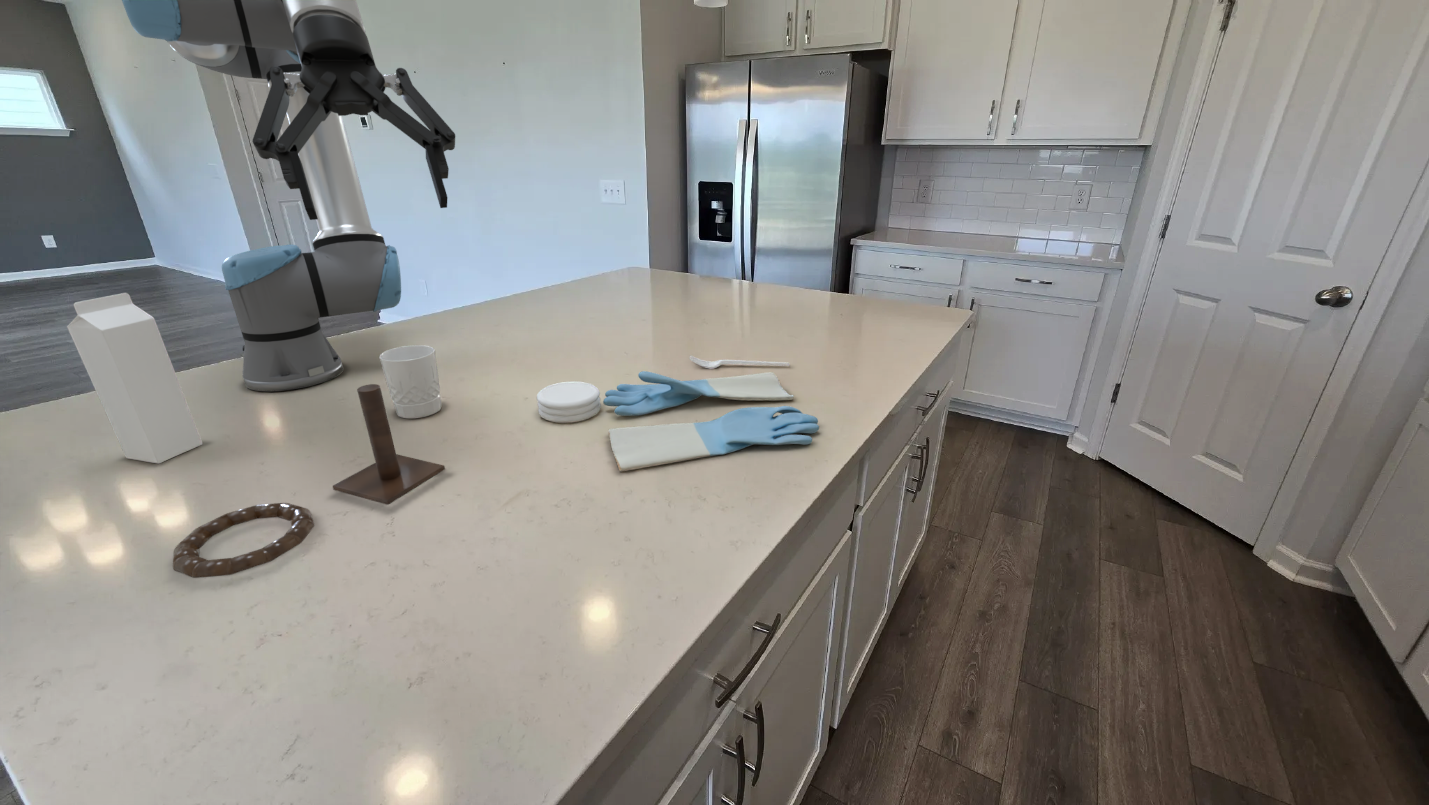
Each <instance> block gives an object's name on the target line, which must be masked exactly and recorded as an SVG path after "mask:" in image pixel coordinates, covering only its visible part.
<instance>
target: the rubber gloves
mask: <svg viewBox="0 0 1429 805" xmlns="http://www.w3.org/2000/svg"><path fill="white" fill-rule="evenodd" d="M638 378H639V379H640V380H641V381H642V382H644V383H649V384H630V383H629V384H628V383H619V384H617V386H616V389H609V390H607V391H605V393H604V394H605V398H604V399H603V401H602V402H603V404H604V405H605V406H606V407H615V409H614V414H615V415H617V416H622V417H633V416H643V415H648V414H651V413H655V412H657V411H661V410H664V409H665V410H666V409H669V408H674V407H679V406H681V405H685V404H687V403H688V402H692V401H694V400H696V399H699V398H700V397H701V396H704V397H711V398H720V399H725V400H736V401H793V400H794V396H795V395H794V394H790V393H788V392H787V391H786V389H784V388H783V386H782V385H781V383H780V379H779V378H778V376H777V375H776V374H775V373H774V372H773V371H772V372H769V371H768V372H760V373H751V374H750V373H749V374H743V375H734V376H726V377H724V376H721V377H713V378H712V377H711V378H704V379H703V378H702V379H692V380H680V379H676V378H673V377H670V376H667V375H664V374H663V375H662V374H660V373H656V372H652V371H646V370H642V371H639V372H638ZM777 413H779V414H778V415H775V414H777ZM774 415H775V416H774ZM818 423H819V418H818V417H816V416H814V415H811V414H807V413H803V412H802V411H801V410H800V409H798V408H796V407H793V406H790V405H781V406H776V407H775V406H751V407H749V406H747V407H740V408H737V409H734V410H731V411H729V412H727V413H725V414H723V415H722V416H719V417H718V418H715V419H713V420H708V421H702V422H700V421H699V422H679V423H677V422H676V423H665V424H653V425H652V424H651V425H642V426H640V425H639V426H628V427H627V426H626V427H617V428H616V427H615V428H614V427H613V428H608V437H609V442H610V447H611V450H612V453H613V457H614V460H615V463H616V464H617V466H618V467H617V468H618V471H619V472H625V471H633V470H638V469H644V468H649V467H650V468H651V467H656V466H661V465H667V464H673V463H679V462H685V461H689V460H690V461H691V460H696V459H700V458H708V457H715V456H723V455H725V454H726V455H727V454H730V453H733V452H737V451H740V450H742V449H745V448H747V447H751V446H753V445H768V446H779V445H780V446H782V445H793V444H794V445H804V446H805V445H810V444H811V443H812V442H813V437H812V436H810V435H806V434H815V433H817V432H818V431H819V430H820V426H819V424H818ZM802 434H803V435H802ZM804 434H805V435H804Z"/></svg>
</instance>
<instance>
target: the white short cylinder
mask: <svg viewBox="0 0 1429 805" xmlns="http://www.w3.org/2000/svg"><path fill="white" fill-rule="evenodd" d="M600 394H601V392H600V389H599V388H598V387H597V386H596V385H594V384H593V383H590V382H586V381H578V380H577V381H576V380H575V381H574V380H573V381H572V380H571V381H570V380H569V381H561V382H555V383H552V384H549V385H547V386H545V387H542V388H541V389H540V390H539V391H538V393H537V394H536V401H537V407H538V408H537V409H538V410H537V411H538V414H539V417H541V418H542V419H544V420H545V421H547V422H552V423H557V424H558V423H559V424H569V423H578V422H582V421H586V420H588V419H591V418H593V417H594V416H595V415H597V414H598V413H599V412H600V411H601V407H602V405H601V397H600Z"/></svg>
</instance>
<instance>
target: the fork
mask: <svg viewBox="0 0 1429 805" xmlns="http://www.w3.org/2000/svg"><path fill="white" fill-rule="evenodd" d="M688 359H689V360H690V361H691V362H692V363H694V364H696V365H698V366H699V367H702V368H704V369H709V370H710V369H711V370H714V369H717V368H719V367H720V366H722V365H740V366H741V365H742V366H743V365H744V366H747V365H748V366H775V367H776V366H777V367H778V366H779V367H790V366H791V365H790V362H785V361H765V360H762V361H761V360H743V359H742V360H741V359H740V360H739V359H718V360H714V361H710V360H704V359H701V358H698V357H695V356H693V355H691V354H689V358H688Z"/></svg>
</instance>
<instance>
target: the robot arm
mask: <svg viewBox="0 0 1429 805" xmlns="http://www.w3.org/2000/svg"><path fill="white" fill-rule="evenodd" d="M121 2H122V5H123V7H124V11H125V12H126V13H125V14H126V16H127V18H128V20H129V23H130V25H131V27H132V29H133V30H134V31H135V32H136V33H137V34H138V35H139V36H141V37H144V38H149V39H157V40H163V41H166V43H167V44H168V45H169V46H170V47H171V49H172V50H174V51H175V52H176V53H177V54H178V55H179V56H181V57H182V58H183V59H185V60H186V61H188V62H190V63H193V64H195V65H197V66H200V67H203V68H205V69H207V70H210V71H214V72H217V73H220V74H224V75H228V76H232V77H238V78H244V79H257V80H266V82H267V85H268V89H269V91H268V95H267V97H266V100H265V103H264V106H263V109H262V112H261V114H260V116H259V120H258V123H257V125H256V129H255V132H254V134H253V138H252V144H253V146H254V148H255V150H256V153H257V154H258V156H259V157H260V158H261V159H263V160H270V159H273V160H275V161H277V162H278V163H279V166H280V170H281V174H282V176H283V179H284V182H285V184H286V186H287V187H288V188H289V190H298V189H299V192H300V195H301V199H302V203H303V206H304V210H305V212H306V214H307V216H308V219H309V220H310V221H316V226H317V229H318V233H317V235H316V236H315V237H314V238H313V240H312V242H311V244H312V247H313V251H310V252H309V251H308V252H302V249H301V248H300V247H299V246H298V245H297V244H282V245H281V244H279V245H273V246H272V245H271V246H265V247H261V248H256V249H255V248H254V249H251V250H247V251H243V252H239V253H236V254H233V255H231V256H229V257H227V258H225V260H223V262H222V263H221V271H222V276H223V279H224V283H225V285H224V288H225V290H226V291H227V292H228V295H229V297H230V301H231V303H232V307H233V310H234V313H235V316H236V319H237V323H238V327H239V329H240V332H241V335H242V338H243V342H244V345H242V351H243V363H242V379H243V382H244V385H245V387H246V388H247V389H249V390H251V391H255V392H283V391H285V392H286V391H292V390H298V389H303V388H308V387H312V386H316V385H319V384H323V383H325V382H329V381H331V380H333V379H334V378H336V377H338V376H340V375H341V374H342V372H343V371H344V365H343V362H342V359H341V357H340V355H339V354H338V353H337V351H336V349H335V348H334V347H333V346H332V344H331V343H330V342H329V340H328V338H327V336H325V334H324V333H323V330H322V327H321V323H320V320H319V319H320V318H327V317H335V316H343V315H352V314H358V313H359V314H360V313H366V312H374V313H376V312H377V311H381V310H386V309H392V308H393V309H394V308H395V307H397V306H398V305H399V304H400V301H401V298H402V276H401V266H400V260H399V259H400V258H399V256H398V251H397V248H396V247H395V246H392V245H390V244H389V245H388V244H387V245H386V242H385V238H384V235H383V234H381V233H379V232H378V231H377V230H375V229H374V228H373V227H372V224H371V220H370V216H369V212H368V209H367V205H366V201H365V196H364V193H363V189H362V186H361V182H360V179H359V174H358V170H357V167H356V162H355V159H354V156H353V152H352V147H351V143H350V140H349V136H348V133H347V128H346V125H345V121H344V116H348V115H349V116H350V115H358V116H369V113H371V112H372V113H374V114H375V115H376V116H378V117H379V118H381V120H385V121H387V122H388V123H390V124H391V125H393V126H394V127H395V128H397V129H398V130H399V131H401V132H402V133H403V134H405V135H406V136H407V137H409V138H410V139H411V140H413V141H414V142H415V143H416V144H418V145H419V146H420V147H422V148H423V149H424V150H425V160H426V163H427V167H428V170H429V173H430V177H431V180H432V184H433V187H434V192H435V194H436V197H437V201H438V205H439V207H440V209H445V208H448V194H447V191H446V188H445V184H444V181H443V180H444V179H445V180H446V179H448V178H449V173H450V172H449V170H450V169H449V165H448V162H447V158H446V155H445V152H446V151H453V150H454V149H455V148H456V133H455V132H454V130H452V128H451V127H450V126H449V125H448V124H447V123H446V122H445V120H444V119H443V118H442V117H441V116H440V115H439V114H438V112H437V111H436V110H435V108H433V106H431V103H429V102H428V100H426V98H425V97H424V96H423V95H422V94H421V93H420V92H419V90H418V89H417V88H416V87H415V86H414V85H413V82H412V81H411V78H410V75H409V73H408V71H407V70H406V69H405V68H403V67H397V68H396V69H395V73H387V74H383V73H381V71H380V70H379V69H378V68H377V65H376V62H375V58H374V55H373V52H372V49H371V45H370V42H369V39H368V36H367V34H366V29H365V28H366V27H365V25H364V22H363V19H362V15H361V12H360V9H359V5H358V2H357V0H121ZM386 88H388V89H391V90H392V91H393V92H394V93H395V94H396V95H397V97H398V96H399V97H402V99H403V101H404V103H405V104H406V105H407V106H408V108H410V109H411V111H412V112H413V113H414V114H415V116H417V117H418V119H420V121H421V122H419V121H418V120H417V119H416V118H414V117H413V116H412V115H410V113H408V112H407V111H405V110H404V109H403V108H401V107H400V106H399V105H397V104H396V103H395V102H394V101H393V100H392V99H391V98H390V97H389V95H388V94H386V93H385V91H386ZM286 116H287V120H288V123H289V125H288V126H287V127H286V128H285V130H284V131H283V132H282V134H281V135H280V133H281V130H282V127H283V124H284V121H285V118H286ZM422 123H423V124H422Z"/></svg>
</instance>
